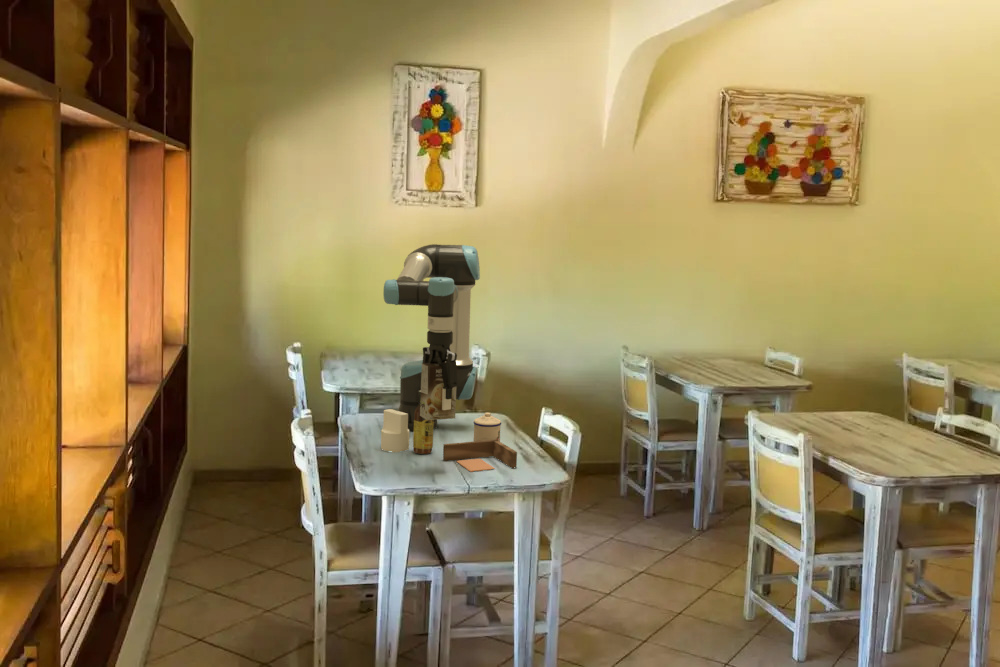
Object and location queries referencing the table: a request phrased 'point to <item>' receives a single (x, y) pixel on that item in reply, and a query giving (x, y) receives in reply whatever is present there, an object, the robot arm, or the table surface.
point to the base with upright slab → (395, 431)
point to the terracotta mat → (475, 465)
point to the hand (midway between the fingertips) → (438, 406)
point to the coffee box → (434, 394)
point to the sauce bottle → (422, 432)
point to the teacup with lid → (487, 428)
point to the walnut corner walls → (480, 451)
